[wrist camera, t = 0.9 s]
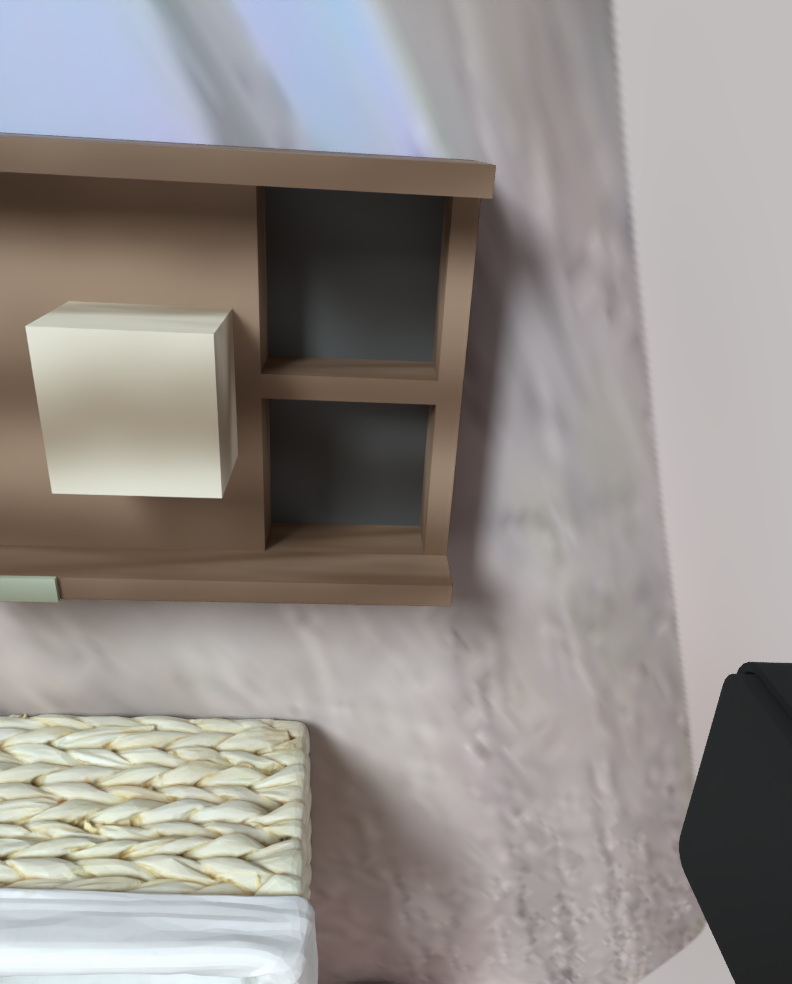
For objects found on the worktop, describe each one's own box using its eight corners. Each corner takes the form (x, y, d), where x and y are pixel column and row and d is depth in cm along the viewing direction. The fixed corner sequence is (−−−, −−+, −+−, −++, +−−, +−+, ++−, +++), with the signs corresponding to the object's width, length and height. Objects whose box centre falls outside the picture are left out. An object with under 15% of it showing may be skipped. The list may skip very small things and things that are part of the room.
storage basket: (-64, 895, 46) (-237, 1207, 32) (-132, 686, 39) (-389, 974, 25) (328, 891, 47) (316, 1189, 34) (330, 689, 40) (316, 964, 27)
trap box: (-174, 120, 27) (-319, 117, 22) (472, 158, 29) (501, 164, 23) (-74, 529, 35) (-161, 610, 29) (438, 542, 36) (453, 621, 30)
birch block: (68, 301, 28) (25, 326, 24) (232, 308, 28) (213, 334, 24) (88, 450, 30) (51, 493, 27) (238, 455, 31) (221, 498, 27)
